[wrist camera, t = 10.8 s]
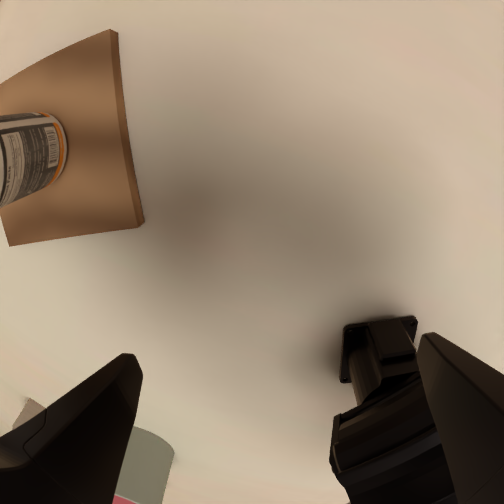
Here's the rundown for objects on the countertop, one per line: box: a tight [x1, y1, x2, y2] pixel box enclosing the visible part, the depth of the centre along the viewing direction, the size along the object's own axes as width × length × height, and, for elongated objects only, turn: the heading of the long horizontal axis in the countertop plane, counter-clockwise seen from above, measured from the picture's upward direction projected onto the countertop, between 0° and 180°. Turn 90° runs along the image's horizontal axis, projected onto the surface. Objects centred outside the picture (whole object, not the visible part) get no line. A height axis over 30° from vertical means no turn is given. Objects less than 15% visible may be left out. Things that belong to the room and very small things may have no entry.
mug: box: [112, 427, 174, 504], centre depth 28 cm, size 14×9×10 cm
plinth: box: [0, 29, 144, 247], centre depth 18 cm, size 14×14×1 cm
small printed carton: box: [13, 398, 45, 429], centre depth 30 cm, size 4×7×10 cm, turn 152°
